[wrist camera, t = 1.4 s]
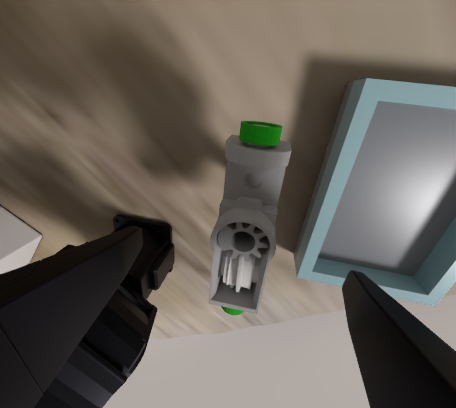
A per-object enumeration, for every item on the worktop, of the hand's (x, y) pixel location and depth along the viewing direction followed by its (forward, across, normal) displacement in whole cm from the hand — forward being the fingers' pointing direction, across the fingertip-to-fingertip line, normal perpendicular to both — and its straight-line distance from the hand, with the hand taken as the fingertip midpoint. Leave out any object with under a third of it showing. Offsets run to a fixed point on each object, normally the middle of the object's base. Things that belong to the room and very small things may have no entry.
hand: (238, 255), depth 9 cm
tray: (+10, -11, 0) cm, 15 cm away
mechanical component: (+11, 0, 0) cm, 11 cm away
